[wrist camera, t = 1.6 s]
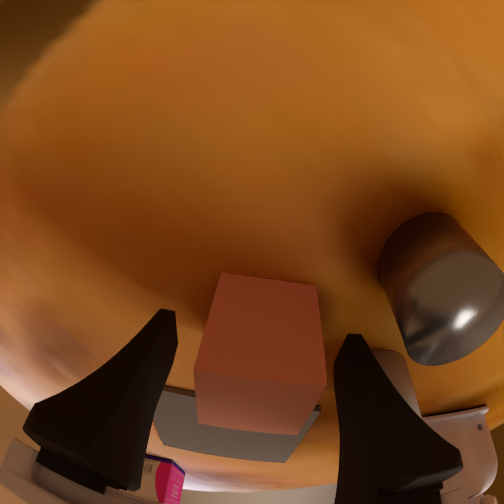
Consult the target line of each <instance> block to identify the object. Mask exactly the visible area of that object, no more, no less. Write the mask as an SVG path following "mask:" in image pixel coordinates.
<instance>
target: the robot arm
mask: <svg viewBox="0 0 504 504" xmlns="http://www.w3.org/2000/svg"><path fill="white" fill-rule="evenodd" d="M177 345H178V338H177V328H176V316H175V311H172V310H166V309H160V310H159V311H158V312H157V313H156V314H155V315H154V316H153V317H152V318H151V320H150V321H149V322H148V323H147V324H146V325H145V326H144V327H143V328H142V329H141V330H140V332H139V333H138V334H137V335H136V336H135V337H134V338H133V339H132V340H131V341H130V342H129V343H128V344H127V345H126V346H124V347H123V348H122V349H121V350H120V351H119V352H118V353H117V354H116V355H115V356H113V357H112V358H111V359H110V360H109V361H107V362H106V363H105V364H104V365H102V366H101V367H100V368H99V369H97V370H96V371H94V372H93V373H92V374H90V375H89V376H87V377H86V378H84V379H83V380H81V381H80V382H78V383H76V384H75V385H73V386H71V387H69V388H67V389H66V390H64V391H62V392H60V393H58V394H56V395H54V396H52V397H49V398H47V399H45V400H42V401H40V402H38V403H35V404H34V406H33V408H32V409H31V411H30V413H29V415H28V417H27V419H26V421H25V424H24V426H23V431H24V432H25V433H26V434H27V435H28V436H29V437H30V438H31V439H32V440H33V441H34V442H36V443H37V444H38V445H39V446H40V447H41V449H40V451H39V452H38V451H37V450H35V449H34V448H32V447H30V446H29V445H27V444H25V443H24V442H22V441H20V440H19V439H17V438H16V437H13V438H12V440H11V443H10V445H9V447H8V449H7V452H6V454H5V456H4V459H3V461H2V463H1V466H0V484H1V485H2V486H4V487H5V488H7V489H8V490H9V491H11V492H12V493H13V494H15V495H16V496H18V497H19V498H20V499H22V500H23V501H25V502H26V503H28V504H163V503H159V502H156V501H152V500H148V499H145V498H142V497H138V496H135V495H132V494H129V493H126V492H123V491H120V490H119V489H122V490H125V491H127V490H129V491H132V492H135V491H137V490H139V489H140V488H141V480H142V472H143V466H144V460H145V454H146V449H147V444H148V439H149V434H150V430H151V426H152V421H153V417H154V413H155V410H156V407H157V404H158V402H159V399H160V396H161V394H162V391H163V388H164V386H165V383H166V381H167V378H168V375H169V373H170V370H171V367H172V365H173V361H174V357H175V353H176V349H177ZM334 389H335V397H336V405H337V412H338V420H339V430H340V455H339V472H338V482H337V490H336V497H335V503H334V504H497V500H496V498H495V497H493V496H490V495H486V496H484V495H483V494H481V493H483V492H484V491H485V490H487V489H488V488H489V486H490V485H491V484H492V483H493V481H494V479H495V476H496V473H497V466H498V463H497V456H496V452H495V449H494V445H493V442H492V438H491V435H490V431H489V428H488V425H487V422H486V419H485V416H484V414H485V413H486V412H487V411H488V410H489V408H488V406H485V407H480V408H476V409H471V410H466V411H460V412H455V413H449V414H443V415H436V416H429V417H422V419H421V418H420V417H419V416H418V415H417V414H416V412H415V411H414V410H413V409H412V408H411V407H410V406H409V404H408V403H407V402H406V401H405V400H404V399H403V397H402V396H401V395H400V393H399V392H398V391H397V389H396V388H395V387H394V385H393V384H392V382H391V381H390V380H389V378H388V377H387V375H386V373H385V372H384V370H383V369H382V367H381V366H380V364H379V363H378V361H377V359H376V358H375V356H374V354H373V353H372V351H371V350H370V348H369V346H368V345H367V343H366V341H365V340H364V338H363V337H362V335H361V334H348V335H347V337H346V339H345V341H344V343H343V345H342V347H341V349H340V351H339V353H338V355H337V357H336V359H335V361H334ZM479 494H481V495H479ZM470 498H471V499H470Z"/></svg>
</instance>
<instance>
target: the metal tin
mask: <svg viewBox="0 0 504 504" xmlns="http://www.w3.org/2000/svg"><path fill="white" fill-rule="evenodd" d="M378 273H379V278H380V281H381V283H382V286H383V288H384V291H385V293H386V296H387V298H388V301H389V303H390V306H391V308H392V311H393V314H394V316H395V319H396V322H397V324H398V327H399V330H400V333H401V336H402V338H403V341H404V344H405V347H406V350H407V353H408V355H409V356H410V358H411V359H412V360H414V361H415V362H417V363H419V364H422V365H428V366H435V365H442V364H447V363H450V362H453V361H456V360H458V359H460V358H463V357H464V356H466V355H468V354H470V353H471V352H473V351H474V350H476V349H477V348H478V347H480V346H481V345H482V344H483V343H484V342H486V341H487V340H488V339H489V338H490V337H491V336H492V334H493V333H494V332H495V331H496V330H497V328H498V327H499V326H500V324H501V323H502V321H503V319H504V273H503V272H502V271H501V270H500V269H499V267H498V266H497V265H496V264H495V263H494V262H493V260H492V259H491V258H490V257H489V256H488V255H487V253H486V252H485V251H484V250H483V249H482V248H481V247H480V246H479V245H478V244H477V242H476V241H475V240H474V239H473V238H472V237H471V236H470V235H469V234H468V233H467V232H466V231H465V230H464V229H463V228H462V227H461V226H460V225H459V224H458V223H457V222H456V221H455V220H454V219H453V218H451V217H449V216H448V215H445V214H442V213H425V214H421V215H418V216H416V217H413V218H411V219H410V220H408V221H406V222H405V223H403V224H402V225H401V226H400V227H398V228H397V229H396V230H395V231H394V232H393V234H392V235H391V236H390V237H389V239H388V240H387V242H386V243H385V245H384V247H383V249H382V252H381V255H380V258H379V264H378Z"/></svg>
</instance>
